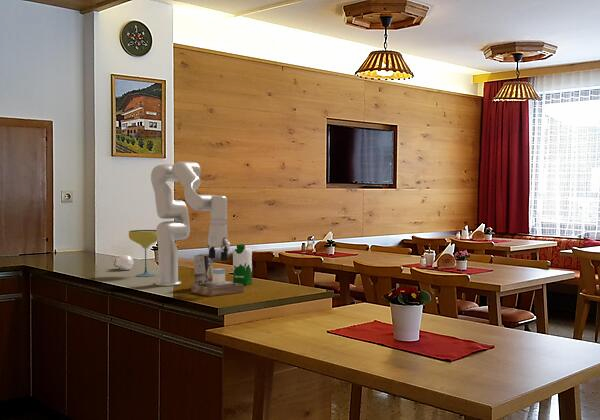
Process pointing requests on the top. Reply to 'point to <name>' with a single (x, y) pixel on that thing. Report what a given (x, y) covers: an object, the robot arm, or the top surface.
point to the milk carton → (242, 265)
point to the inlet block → (218, 284)
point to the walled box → (217, 289)
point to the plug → (219, 275)
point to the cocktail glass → (144, 243)
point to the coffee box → (203, 269)
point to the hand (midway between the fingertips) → (217, 259)
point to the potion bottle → (124, 262)
